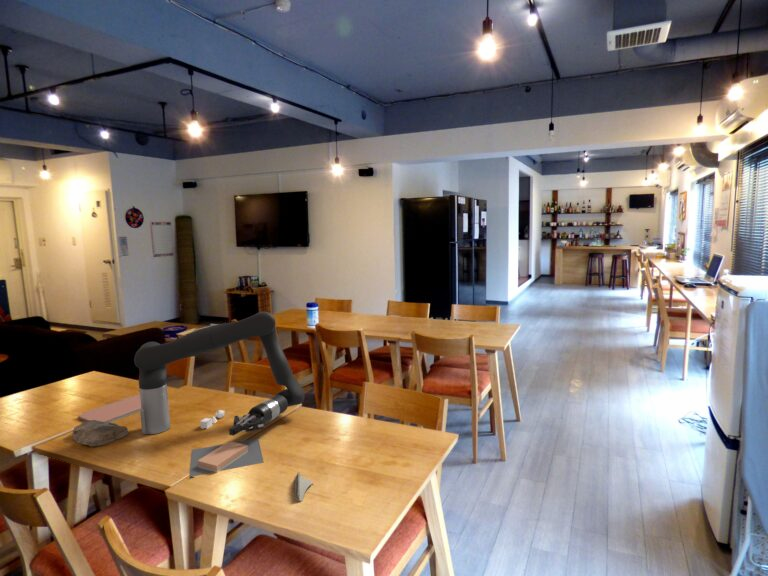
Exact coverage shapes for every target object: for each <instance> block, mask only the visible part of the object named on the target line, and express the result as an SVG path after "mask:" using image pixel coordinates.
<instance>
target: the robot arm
mask: <svg viewBox="0 0 768 576" xmlns="http://www.w3.org/2000/svg"><path fill="white" fill-rule="evenodd" d="M257 337H258V338H259V339H260V341H261V343H262V346H263V348H264V350H265V354H266V357H267V361H268V363H269V368H270V370H271V374H272V375H273V377H274V381H275V383H276V384H277V385H279V386H284V387H285V389H282V390H281V391H279V392H277V393H276V394H275V395H274V396H272V397H271V398H269V399H266V400H264V401H262V402H260V403H259V404H256V405H255V406H252V408H250V410H249V411H248V413H247V414H244V415H242V416H239V415H234V418H233V426H232V427H230V428H229V429H228V434H229V436H236V435H237V434H239V433H241V432H246V433H248V432H254V431H258V430H262V429H264V426H265V425H267V424H268V423H270V422H271V421H273V420H276V418H277V417H278V416H280V415H281V414H283V413H284V412H285V411H286V410H287V409H288V408H290V407H293V406H298V405H301V404H303V403H304V400H305V391H304V389H303V387H302V386H301V384H300V383H299V381H298V380H297V379H296V377H295V376H294V375H293V372H292V369H291V366H290V363H289V362H288V359H287V356H286V354H285V353H284V350H283V349H282V345H281V344H280V343H281V342H280V341H279V338H278V334H277V329H276V318H275V316H274V315H273V314H272V313H270V312H267V311H258V312H257V313H255V314H253V315H251V316H249V317H246V318H243V319H239V320H237V321H233V322H225V323H220V324H215V325H210V326H207V327H203V328H199V329H197V330H194V331H192V332H189V333H188V334H185V335H183V336H181V337H179V338H178V339H175V340H172V341H169V342H165V343H159V342H157V341H148V342H145V343H144V344H142V345H141V346H140V347H139V348H138V349H137V351H136V352H135V354H134V358H133V362H134V365H135V367H136V368H138V370H139V376H138V377H139V378H138V389H139V390H138V391H139V395H140V401H141V409H140V412H139V413H140V422H141V433H142V435H145V434H146V435H154V434H155V435H156V434H160V433H164V432H165V431H168V430H169V429H170V428H171V419H170V416H171V415H170V405H169V396H168V395H169V394H168V385H167V383H168V382H167V374H168V373H167V365H168V364H171V363H174V362H177V361H179V360H182V359H187V358H192V357H196V356H199V355H203V354H208V353H209V352H212V351H213V352H214V351H217V350H219V349H222V348H225V347H228V346H230V345H232V344H236V343H237V342H240V341H243V340H246V339H250V338H257Z"/></svg>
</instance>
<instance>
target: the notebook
mask: <svg viewBox="0 0 768 576" xmlns="http://www.w3.org/2000/svg"><path fill="white" fill-rule="evenodd" d="M140 409H141V401H140V394H136V395H132V396H129V397H127V398H122V399H120V400H117V401H115V402H112V403H111V402H110V403H108V404H104V405H103V406H99V407H96V408H94V409H90V410H87V411H85V412H83V413H81V414H78V415H77V417H78V419H80V420H82V421H84V422H86V421H89V420H97V421H103V422H109V423H114V422H115V421H118V420H120V419H123V418H125V417H128V415H129V416H130V415H131V414H132V415H134V414H137V413H140V412H139V411H140ZM136 412H137V413H136ZM133 413H134V414H133Z"/></svg>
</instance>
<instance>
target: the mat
mask: <svg viewBox="0 0 768 576" xmlns="http://www.w3.org/2000/svg"><path fill="white" fill-rule="evenodd" d="M235 443H239V444H244V445H248V452H247V453H245V454H244V455H242V456H241V457H239V458H238V459H237V460H235V461H234V462H232V463H231V464H229V465H228V466H226V467H225V468H223V469H222V470H220V471H219V472H222V471H226V470H227V471H228V470H232V469H237V468H243V467H247V466H253V465H258V464H259V465H260V464H263V463H264V457H263V454H262V453H263V452H262V449H261V444H260V440H259V438H258V437H257V438H252V439H246V440H245V439H244V440H240V441H235ZM224 444H225V443H223V444H217V445H211V446H206V447H200V448H194V449H191V452H190V453H191V454H190V464H189V465H190V466H189V477H188V478H189V479H194V478H196V476H200V475H207V474H212V473H215V472H214V471H210V470H206V469H203V468H199V467H198V460H199V459H201V458H203V457H204V456H206V455H208V454H209V453H211V452H212V451H214V450H216V449H217V448H219V447H221V446H222V445H224Z"/></svg>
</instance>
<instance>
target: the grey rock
mask: <svg viewBox="0 0 768 576" xmlns="http://www.w3.org/2000/svg"><path fill="white" fill-rule="evenodd" d="M71 433H72V436H71V437H72V439H73V440H74V441H75V442H76V443H78V444H81V445H84V446H89V447H97V446H98V447H99V446H105V445H106V444H107V445H108V444H110V443H112V442H114V441H116V440H118V439H122V438H125V437H127V436H128V435H129V430H128V427H127V426H124V425H119V424H117V423H116V422H110V423H109V422H103V421H97V420H89V421H84V422H82V423H81V424H79V425H76V426H75V427H74V428H73V430H72V432H71Z"/></svg>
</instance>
